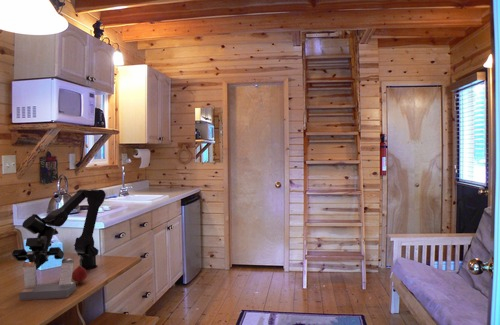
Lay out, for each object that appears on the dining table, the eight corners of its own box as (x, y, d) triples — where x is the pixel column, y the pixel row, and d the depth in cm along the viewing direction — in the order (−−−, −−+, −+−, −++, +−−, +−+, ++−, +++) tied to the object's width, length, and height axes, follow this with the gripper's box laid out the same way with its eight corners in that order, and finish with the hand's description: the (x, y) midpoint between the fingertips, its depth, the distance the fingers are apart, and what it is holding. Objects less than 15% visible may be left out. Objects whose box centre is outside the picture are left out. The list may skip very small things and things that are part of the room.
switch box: (30, 292, 144) (30, 284, 143) (75, 289, 145) (75, 281, 145) (19, 300, 136) (19, 291, 135) (67, 297, 137) (67, 289, 137)
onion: (83, 279, 156) (82, 262, 156) (89, 282, 153) (88, 264, 152) (70, 283, 152) (69, 265, 152) (76, 286, 148) (75, 268, 148)
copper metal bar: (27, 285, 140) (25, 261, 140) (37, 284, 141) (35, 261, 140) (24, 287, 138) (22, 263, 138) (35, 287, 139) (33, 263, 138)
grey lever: (60, 284, 141) (64, 259, 145) (71, 284, 142) (74, 258, 145) (58, 284, 140) (61, 259, 143) (69, 284, 140) (72, 258, 143)
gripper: (12, 230, 144) (-4, 265, 133) (59, 228, 145) (47, 262, 135) (24, 243, 152) (10, 277, 142) (68, 241, 154) (58, 275, 143)
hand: (31, 273), depth 140 cm, fingers closed, pressing on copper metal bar
